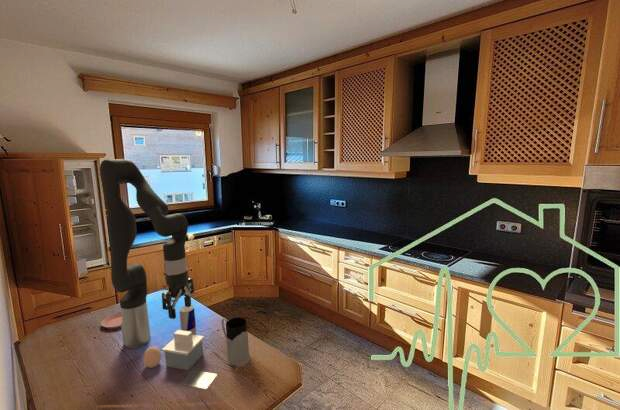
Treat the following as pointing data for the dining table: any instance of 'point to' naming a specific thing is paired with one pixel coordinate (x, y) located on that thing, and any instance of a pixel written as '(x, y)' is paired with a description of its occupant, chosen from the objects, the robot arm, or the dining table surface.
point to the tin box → (184, 358)
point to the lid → (183, 342)
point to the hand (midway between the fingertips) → (180, 312)
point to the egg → (152, 357)
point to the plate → (112, 321)
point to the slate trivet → (199, 379)
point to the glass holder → (236, 341)
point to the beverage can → (188, 319)
